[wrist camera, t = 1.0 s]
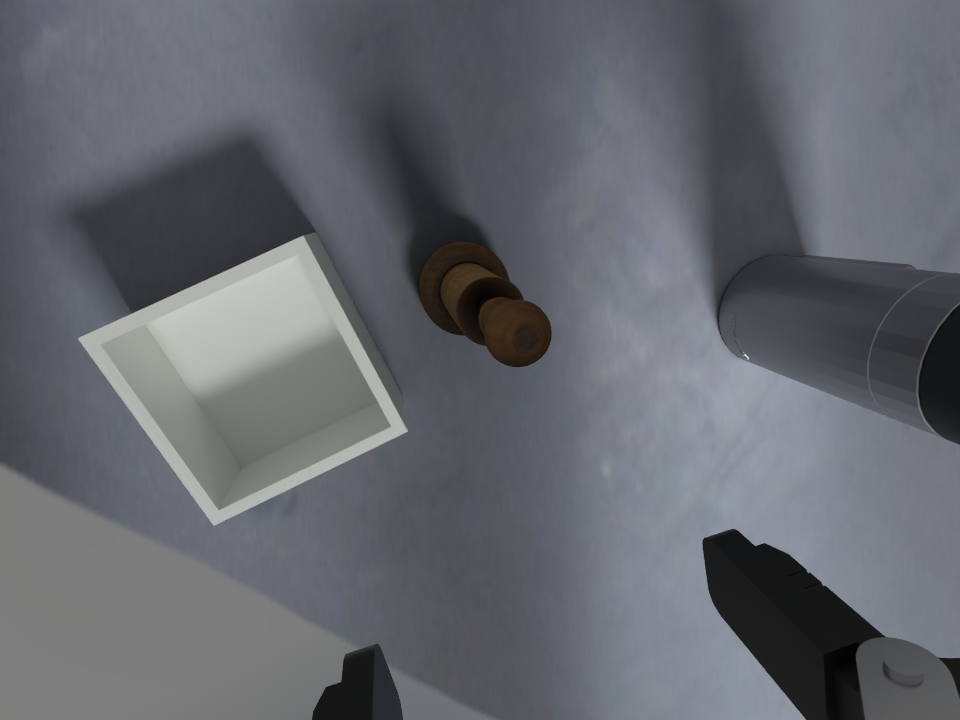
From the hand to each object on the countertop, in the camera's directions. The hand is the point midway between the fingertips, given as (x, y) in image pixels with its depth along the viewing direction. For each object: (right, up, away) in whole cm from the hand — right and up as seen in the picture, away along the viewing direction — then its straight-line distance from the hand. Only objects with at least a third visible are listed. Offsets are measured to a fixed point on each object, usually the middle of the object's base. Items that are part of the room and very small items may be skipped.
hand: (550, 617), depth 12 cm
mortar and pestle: (-3, +12, +27) cm, 30 cm away
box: (-16, +6, +26) cm, 31 cm away
